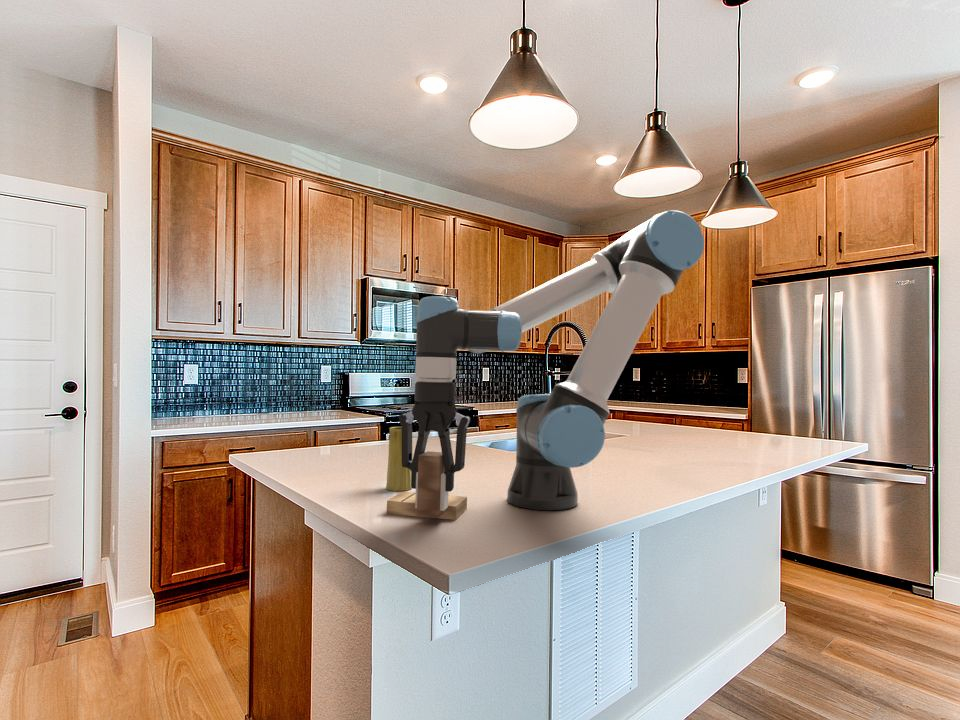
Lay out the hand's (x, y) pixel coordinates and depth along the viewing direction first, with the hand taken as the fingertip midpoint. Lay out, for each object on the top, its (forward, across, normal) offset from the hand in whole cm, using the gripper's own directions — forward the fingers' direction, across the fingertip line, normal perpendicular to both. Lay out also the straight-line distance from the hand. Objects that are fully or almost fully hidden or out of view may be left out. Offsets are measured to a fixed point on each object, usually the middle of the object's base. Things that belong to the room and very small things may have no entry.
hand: (431, 507), depth 97 cm
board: (+3, +3, -7) cm, 8 cm away
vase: (+3, +16, -24) cm, 29 cm away
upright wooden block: (+1, 0, -3) cm, 3 cm away
